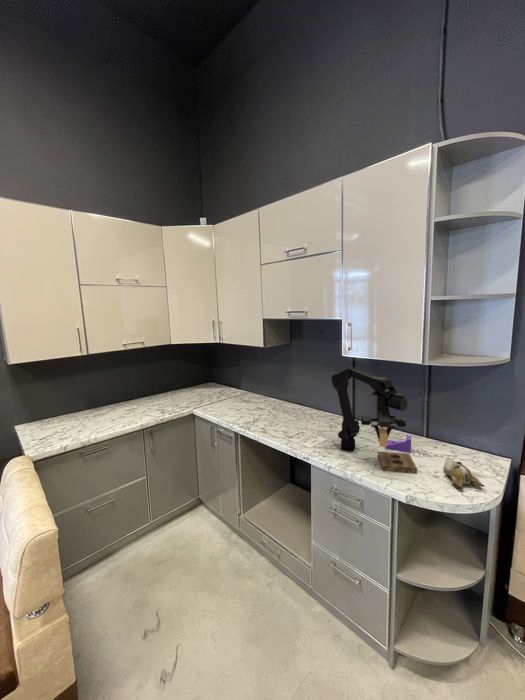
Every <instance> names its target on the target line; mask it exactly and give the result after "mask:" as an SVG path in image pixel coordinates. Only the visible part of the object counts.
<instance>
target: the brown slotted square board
mask: <svg viewBox="0 0 525 700" xmlns="http://www.w3.org/2000/svg"><path fill="white" fill-rule="evenodd" d="M377 458H378V461H379V464H380V468H381V470H382V471H383V472H395V473H404V474H405V473H406V474H417V473H418V468H417V466H416V463H415V462H414V460H413V458H412V457H411V455H410V453H408V452H393V451H392V452H390V451H377Z"/></svg>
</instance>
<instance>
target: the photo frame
mask: <svg viewBox="0 0 525 700" xmlns="http://www.w3.org/2000/svg"><path fill="white" fill-rule="evenodd" d="M302 432H303V434H307V435H309V436H312V437H315V438H314V439H311V440H308V441H307V442H304V443H301V442H298V441H296V440H293V439H291V438H290V437H293V436H295V435H297V434H298V435H299V434H300V433H302ZM284 439H285V440H288V441H291V442H293V443H295V444H298V445H300V446H303V447H305V448H308V449H312V448H314V447H316V446H318V445H320V444H322V443H324V442H326V441H327V442H328V439H327V438H324V437H321V436H320V435H319V436H318V435H315V434H313V433H309V432H307V431H304V430H301V431H298V432H295V433H293V434H291V435H288V436H285V437H284Z"/></svg>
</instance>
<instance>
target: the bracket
mask: <svg viewBox="0 0 525 700" xmlns="http://www.w3.org/2000/svg"><path fill="white" fill-rule="evenodd" d="M384 449H385V450H391V451H397V452H401V453H408V454H410V453H411V452H412V451H411V450H412V436H411V435H406V439H405V440H402V441H396V440H387V447H384Z"/></svg>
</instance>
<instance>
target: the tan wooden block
mask: <svg viewBox="0 0 525 700" xmlns="http://www.w3.org/2000/svg"><path fill="white" fill-rule="evenodd" d="M378 429H379V439H378V438H377V442H379V447H381V448H385V447H387V441H388V439H387V431H386V427H380V426H378Z"/></svg>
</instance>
